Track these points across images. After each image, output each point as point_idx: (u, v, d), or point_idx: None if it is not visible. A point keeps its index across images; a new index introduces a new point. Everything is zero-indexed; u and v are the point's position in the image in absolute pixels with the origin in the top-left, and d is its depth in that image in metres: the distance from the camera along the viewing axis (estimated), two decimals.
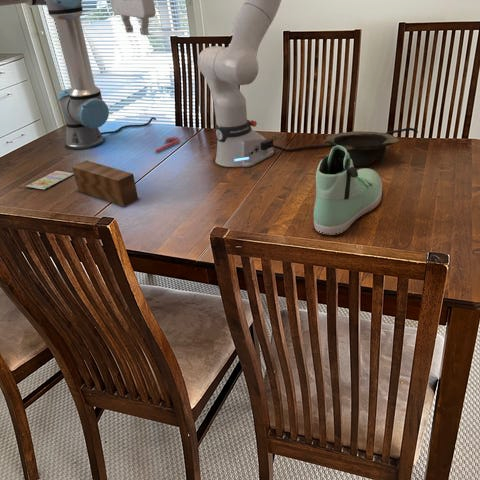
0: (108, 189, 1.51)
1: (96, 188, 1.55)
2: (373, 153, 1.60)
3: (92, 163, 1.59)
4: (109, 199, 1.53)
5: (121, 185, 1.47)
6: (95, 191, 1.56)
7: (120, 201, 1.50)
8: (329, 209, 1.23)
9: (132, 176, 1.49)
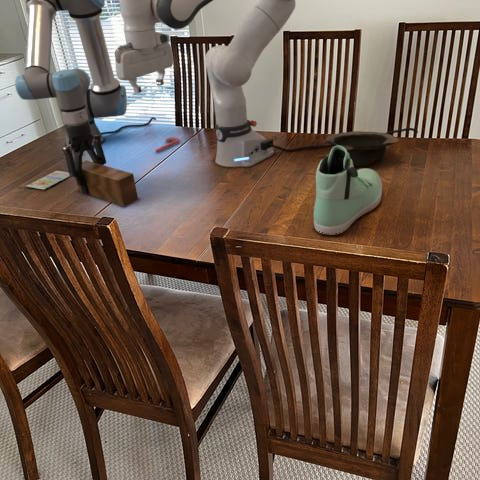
0: (108, 189, 1.51)
1: (96, 188, 1.55)
2: (373, 153, 1.60)
3: (92, 163, 1.59)
4: (109, 199, 1.53)
5: (121, 185, 1.47)
6: (95, 191, 1.56)
7: (120, 201, 1.50)
8: (329, 209, 1.23)
9: (132, 176, 1.49)
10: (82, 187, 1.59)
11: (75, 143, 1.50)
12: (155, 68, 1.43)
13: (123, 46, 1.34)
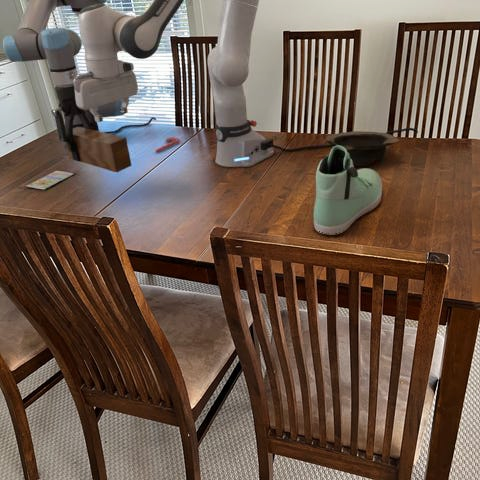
0: (99, 155, 1.45)
1: (87, 154, 1.49)
2: (373, 153, 1.60)
3: (84, 129, 1.53)
4: (101, 165, 1.47)
5: (113, 149, 1.41)
6: (87, 157, 1.50)
7: (113, 166, 1.44)
8: (329, 209, 1.23)
9: (125, 140, 1.43)
10: (73, 154, 1.53)
11: (65, 106, 1.44)
12: (118, 97, 1.39)
13: (83, 75, 1.30)
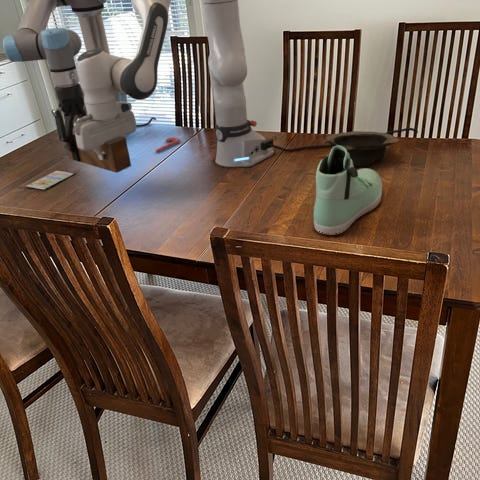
0: None
1: (87, 155, 1.49)
2: (373, 153, 1.60)
3: None
4: (101, 165, 1.47)
5: (113, 149, 1.41)
6: (87, 157, 1.50)
7: (112, 167, 1.44)
8: (329, 209, 1.23)
9: (124, 140, 1.43)
10: (73, 154, 1.53)
11: (65, 106, 1.44)
12: (117, 135, 1.44)
13: (83, 118, 1.34)
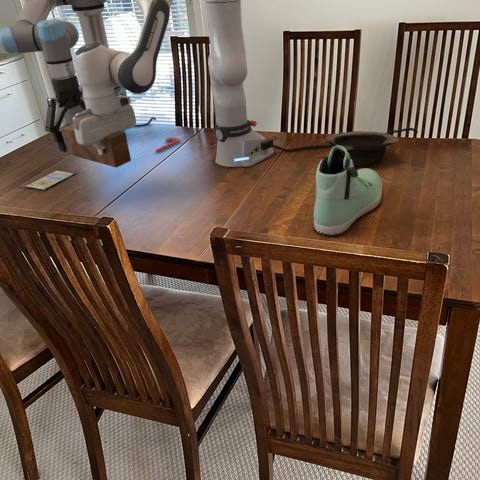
0: None
1: (87, 150, 1.49)
2: (373, 153, 1.60)
3: None
4: (101, 160, 1.47)
5: (112, 144, 1.40)
6: (86, 153, 1.49)
7: (112, 161, 1.43)
8: (329, 209, 1.23)
9: (124, 135, 1.42)
10: (59, 144, 1.49)
11: (62, 98, 1.44)
12: (117, 130, 1.43)
13: (81, 113, 1.34)
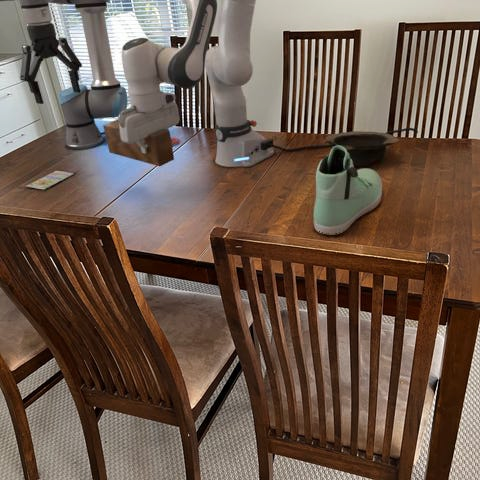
0: None
1: (128, 148, 1.45)
2: (373, 153, 1.60)
3: None
4: (143, 159, 1.43)
5: (157, 142, 1.36)
6: (128, 151, 1.46)
7: (156, 160, 1.39)
8: (329, 209, 1.23)
9: (168, 133, 1.38)
10: (36, 96, 1.44)
11: (38, 46, 1.39)
12: (160, 128, 1.39)
13: (127, 110, 1.30)
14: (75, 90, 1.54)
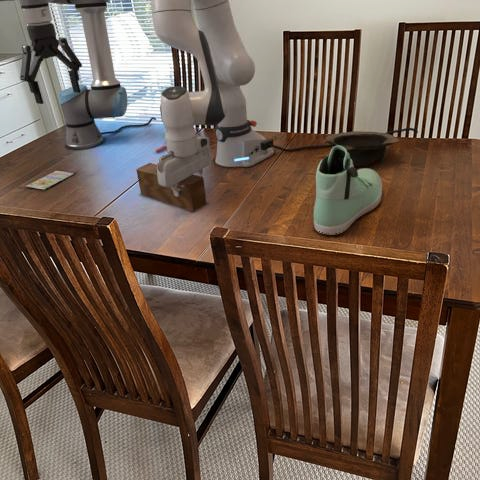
0: None
1: (161, 192, 1.49)
2: (373, 153, 1.60)
3: None
4: (176, 203, 1.47)
5: (192, 189, 1.41)
6: (161, 195, 1.50)
7: (190, 205, 1.44)
8: (329, 209, 1.23)
9: (202, 180, 1.43)
10: (36, 96, 1.44)
11: (38, 46, 1.39)
12: (195, 170, 1.43)
13: (165, 156, 1.34)
14: (75, 90, 1.54)
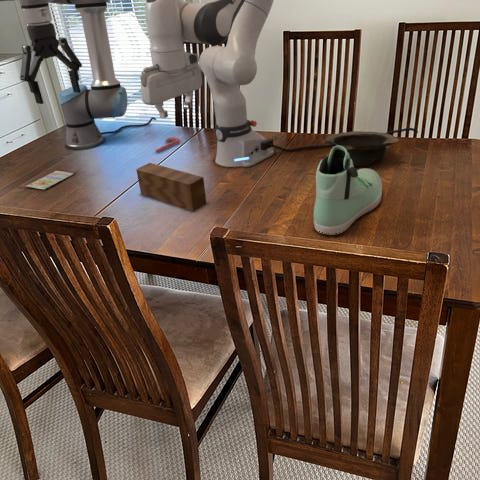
0: (176, 193, 1.45)
1: (161, 192, 1.49)
2: (373, 153, 1.60)
3: (157, 166, 1.53)
4: (176, 203, 1.47)
5: (192, 189, 1.41)
6: (161, 195, 1.50)
7: (190, 205, 1.44)
8: (329, 209, 1.23)
9: (202, 180, 1.43)
10: (36, 96, 1.44)
11: (38, 46, 1.39)
12: (183, 91, 1.31)
13: (150, 68, 1.22)
14: (75, 90, 1.54)
